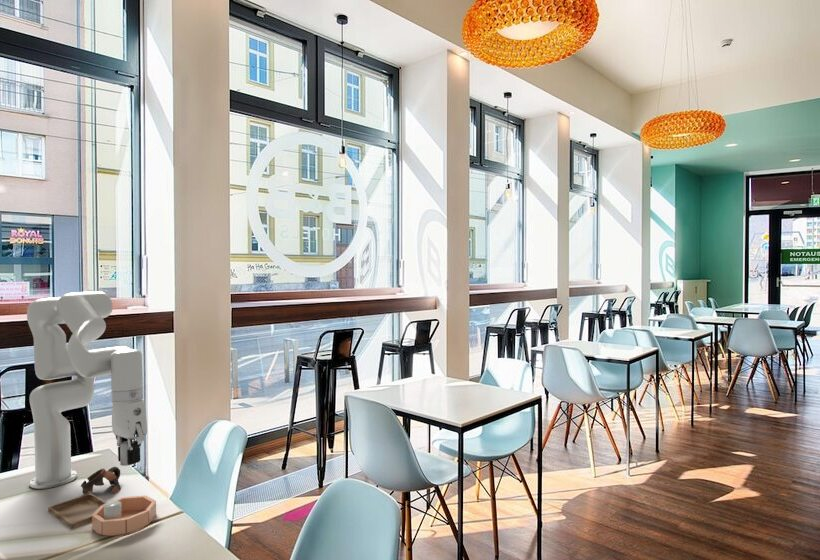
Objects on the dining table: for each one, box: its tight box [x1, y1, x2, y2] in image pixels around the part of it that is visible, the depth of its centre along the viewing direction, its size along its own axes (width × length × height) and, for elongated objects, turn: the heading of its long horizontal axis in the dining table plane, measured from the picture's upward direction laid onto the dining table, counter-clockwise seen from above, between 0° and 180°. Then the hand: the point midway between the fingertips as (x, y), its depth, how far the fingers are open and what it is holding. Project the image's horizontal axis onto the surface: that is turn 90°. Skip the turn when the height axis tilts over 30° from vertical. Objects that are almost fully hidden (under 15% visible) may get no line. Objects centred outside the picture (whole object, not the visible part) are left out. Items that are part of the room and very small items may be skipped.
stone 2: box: [119, 440, 136, 467], centre depth 138 cm, size 4×4×6 cm
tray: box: [47, 492, 108, 530], centre depth 142 cm, size 16×11×2 cm
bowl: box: [91, 495, 157, 537], centre depth 136 cm, size 14×14×4 cm
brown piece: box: [80, 466, 122, 495], centre depth 156 cm, size 12×10×8 cm
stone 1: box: [104, 500, 122, 520], centre depth 134 cm, size 4×4×6 cm
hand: (129, 460), depth 139 cm, fingers closed on stone 2, 4 cm apart
